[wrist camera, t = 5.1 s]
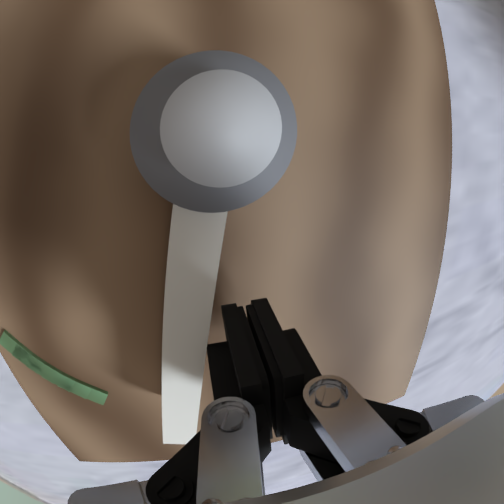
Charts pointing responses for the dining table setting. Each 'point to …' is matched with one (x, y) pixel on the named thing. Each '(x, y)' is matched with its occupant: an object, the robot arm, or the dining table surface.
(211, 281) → the dial needle
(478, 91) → the dining table surface
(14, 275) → the dial plate
